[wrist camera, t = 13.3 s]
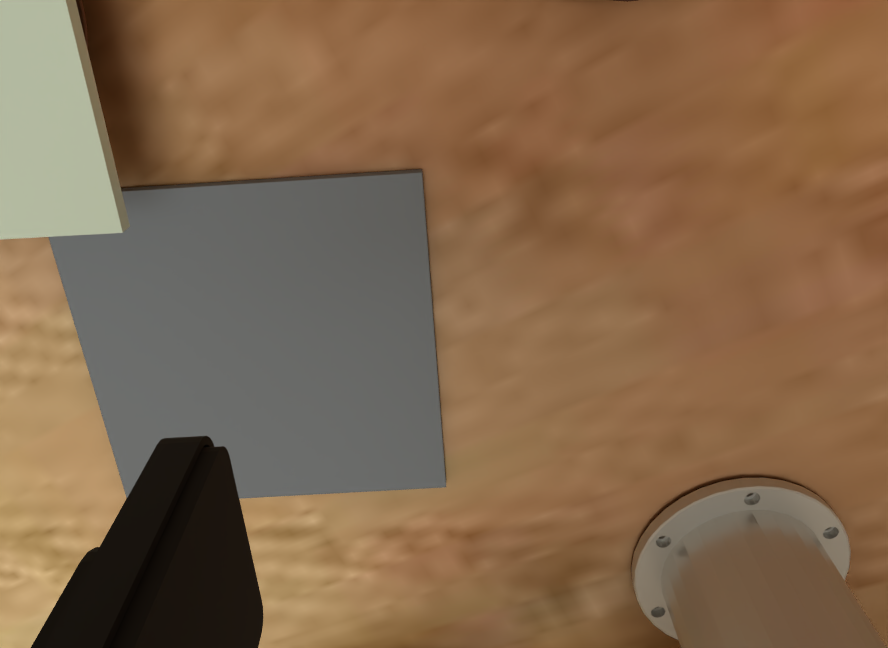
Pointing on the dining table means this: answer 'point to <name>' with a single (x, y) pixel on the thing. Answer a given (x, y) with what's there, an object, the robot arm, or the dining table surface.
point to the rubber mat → (267, 330)
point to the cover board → (52, 128)
